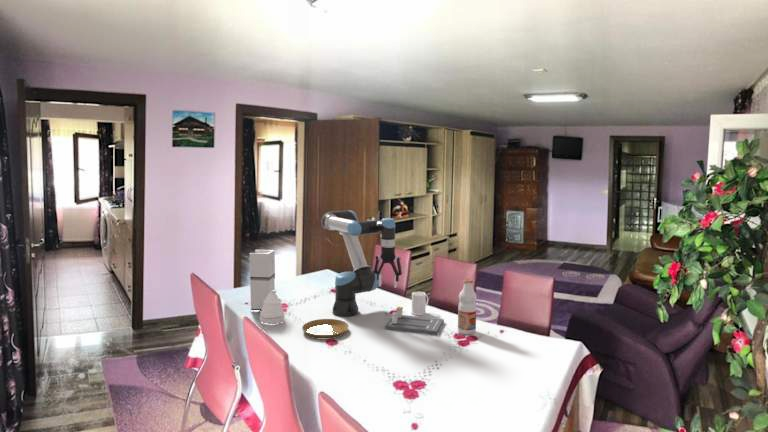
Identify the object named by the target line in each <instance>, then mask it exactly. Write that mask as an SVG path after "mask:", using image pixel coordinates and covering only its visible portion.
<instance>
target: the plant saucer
mask: <svg viewBox="0 0 768 432" xmlns="http://www.w3.org/2000/svg"><path fill="white" fill-rule="evenodd" d="M323 324H328V325H331V326H332V328H333V331H334V332H333V331H332V332H333V335H314V334H310V333H307V332H306V331H307V329H309V328H310V327H313V326H317V325H323ZM301 328H302V331H303V333H304V334H305V335H306V336H308V337H310V338H312V337H314V338H313V339H317V338H331V339H335V338H334V337H336V338H339V337H340V336H342V335H344V334H346V332H347V331H348V329H349V324H348V323H347V322H346V321H343V320H340V319H336V318H335V319H334V318H321V319H320V318H319V319H314V320H311V321H308V322H305V323H304V324H303V325H302V327H301ZM335 332H336V333H335ZM337 333H338V334H337ZM338 336H339V337H338Z"/></svg>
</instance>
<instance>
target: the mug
mask: <svg viewBox="0 0 768 432" xmlns="http://www.w3.org/2000/svg"><path fill="white" fill-rule="evenodd" d="M426 299H427V300H426ZM428 303H429V296H428V295H427V294H426V292H424V291H413V292H411V311H410V314H411V315H412V316H416V317H422V316H425V315H426V314H427V313H426V307H427V306H428Z"/></svg>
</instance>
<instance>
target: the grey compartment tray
mask: <svg viewBox="0 0 768 432" xmlns="http://www.w3.org/2000/svg"><path fill="white" fill-rule="evenodd" d="M444 320H445V319H443V318H434V317H426V316H424V317H423V316H417V315H407V314H405V315H404V314H402V317H401V318H398V322H397V323H396V324H394V323H392V317H391V318H390V319H389V321H388V322H387V323H386V324H385V325H384V330H386V331H387V330H388V331H395V332H396V331H397V332H403V333H404V332H406V333H414V334H422V335H430V336H431V335H432V336H433V335H434V336H438V334H439V332H440V330H441V328H442V327H443V325H444V323H445V321H444Z"/></svg>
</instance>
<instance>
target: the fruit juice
mask: <svg viewBox="0 0 768 432" xmlns="http://www.w3.org/2000/svg"><path fill="white" fill-rule="evenodd" d="M462 283H463V288H462V290H461V291H460V292H459V294H458V298H459V299H458V300H459V302H458V308H457V312H458V313H457V317H458V318H457V331H458V333H460V334H461V335H462V334H463V335H473V334H475V333H476V330H477V304H476V302H477V294H476V292H475V290H474V287H473V284H474V281H473V279H471V278H465V279H463V282H462Z"/></svg>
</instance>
